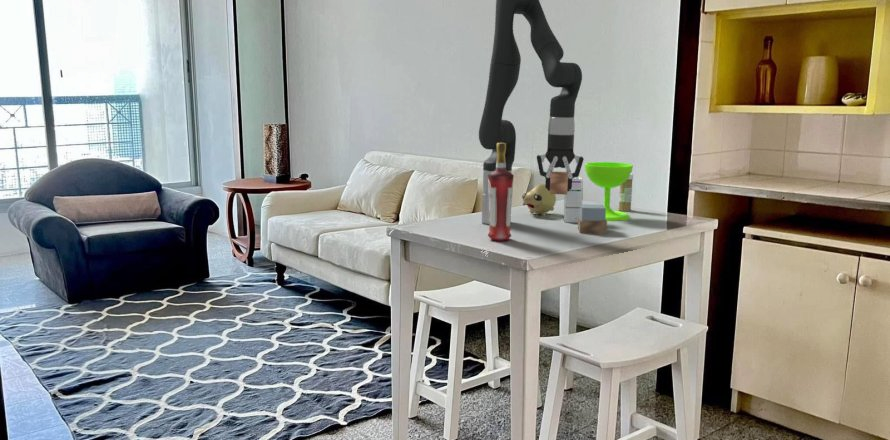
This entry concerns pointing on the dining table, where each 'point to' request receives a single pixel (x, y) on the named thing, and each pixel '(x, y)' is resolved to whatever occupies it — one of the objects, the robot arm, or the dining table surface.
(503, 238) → the liquor
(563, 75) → the robot arm
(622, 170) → the wineglass
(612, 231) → the dining table surface
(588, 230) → the walnut slab
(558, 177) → the terracotta cube
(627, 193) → the sprinkles bottle
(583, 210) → the slate block
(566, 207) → the syrup box
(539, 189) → the beige round toy
